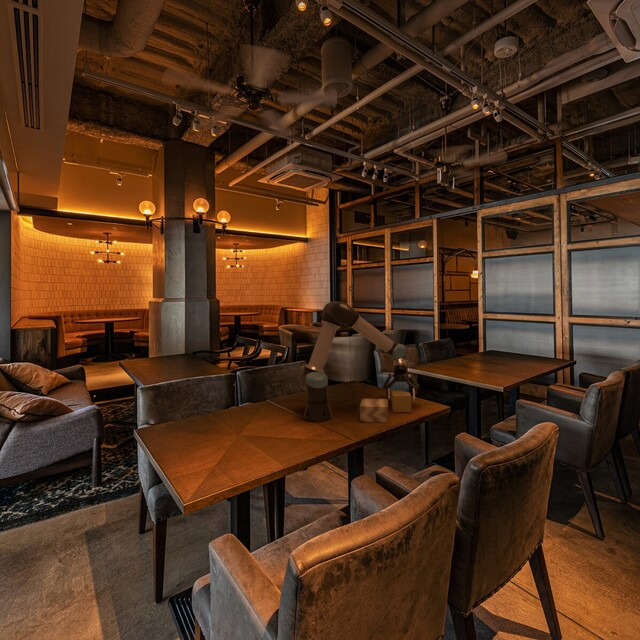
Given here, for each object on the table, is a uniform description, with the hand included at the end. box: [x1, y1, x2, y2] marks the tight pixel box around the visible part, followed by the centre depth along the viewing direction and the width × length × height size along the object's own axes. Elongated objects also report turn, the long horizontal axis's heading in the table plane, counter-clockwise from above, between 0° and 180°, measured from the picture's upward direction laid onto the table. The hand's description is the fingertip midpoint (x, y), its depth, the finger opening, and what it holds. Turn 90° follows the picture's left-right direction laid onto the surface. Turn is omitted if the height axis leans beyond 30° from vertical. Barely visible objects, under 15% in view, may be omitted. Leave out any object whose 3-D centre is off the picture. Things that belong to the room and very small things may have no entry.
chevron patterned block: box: [359, 398, 389, 423], centre depth 197 cm, size 14×14×8 cm
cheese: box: [390, 390, 412, 414], centre depth 208 cm, size 10×11×10 cm
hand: (401, 399), depth 208 cm, fingers open, 13 cm apart
